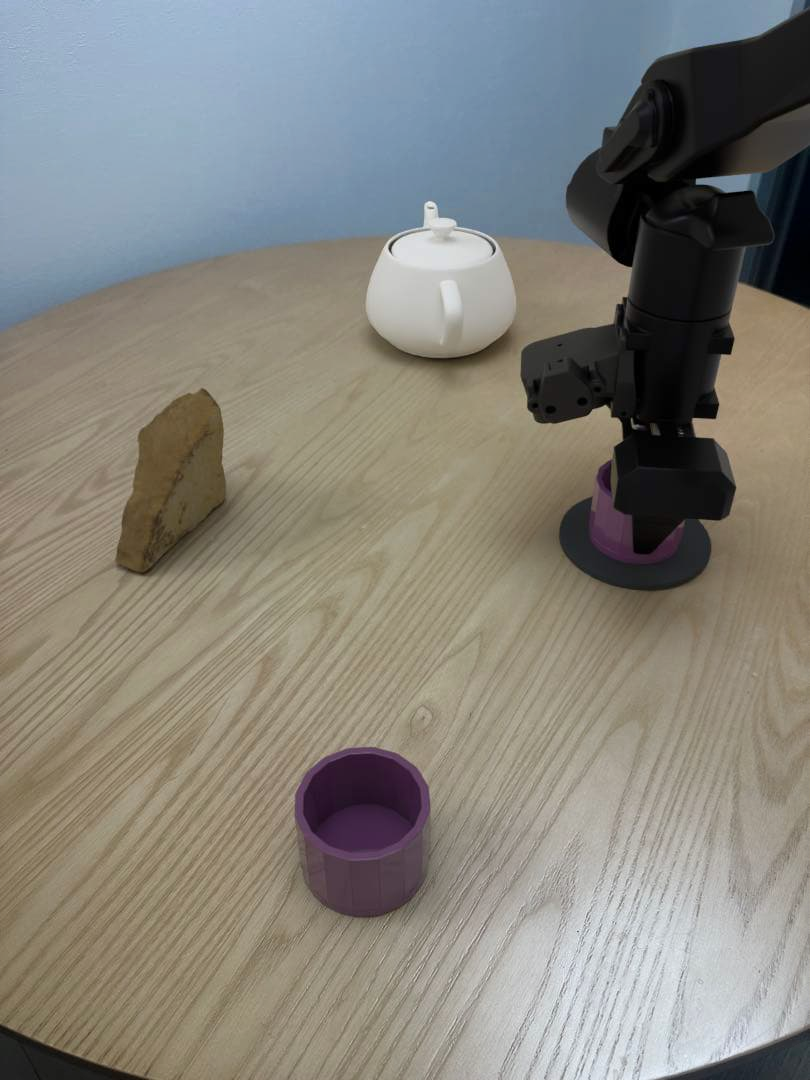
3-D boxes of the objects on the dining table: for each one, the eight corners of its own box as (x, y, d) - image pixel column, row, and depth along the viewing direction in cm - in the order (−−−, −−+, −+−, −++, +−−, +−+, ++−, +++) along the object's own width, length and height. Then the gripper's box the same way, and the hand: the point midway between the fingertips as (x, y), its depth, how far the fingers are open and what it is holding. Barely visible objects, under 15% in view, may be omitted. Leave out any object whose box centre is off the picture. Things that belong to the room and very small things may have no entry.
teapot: (532, 387, 80) (543, 264, 73) (371, 393, 79) (368, 270, 73) (494, 282, 97) (500, 175, 90) (362, 286, 96) (358, 179, 90)
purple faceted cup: (454, 853, 45) (457, 795, 42) (368, 943, 41) (365, 887, 39) (363, 784, 48) (360, 726, 45) (275, 863, 44) (266, 805, 42)
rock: (141, 578, 57) (276, 498, 61) (65, 454, 55) (208, 380, 60) (111, 582, 67) (229, 512, 71) (45, 476, 65) (170, 411, 69)
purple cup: (695, 533, 63) (709, 478, 60) (650, 577, 60) (662, 521, 57) (618, 499, 66) (627, 445, 64) (570, 538, 63) (578, 483, 60)
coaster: (736, 537, 64) (738, 531, 64) (662, 612, 58) (663, 606, 58) (609, 481, 69) (610, 475, 69) (529, 545, 63) (530, 539, 63)
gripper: (535, 233, 61) (518, 439, 70) (533, 372, 46) (512, 607, 56) (712, 240, 60) (670, 448, 69) (767, 384, 45) (704, 622, 55)
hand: (637, 521), depth 62 cm, fingers closed on purple cup, 6 cm apart
